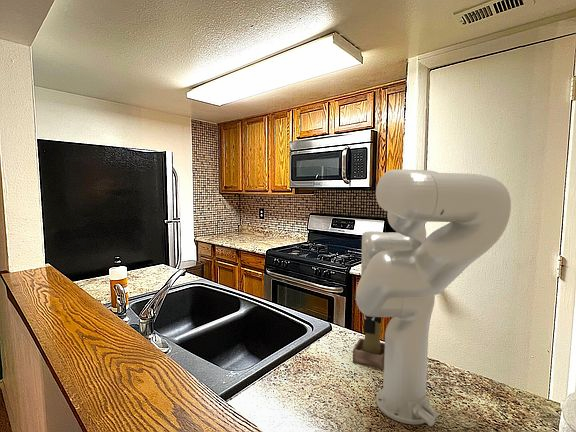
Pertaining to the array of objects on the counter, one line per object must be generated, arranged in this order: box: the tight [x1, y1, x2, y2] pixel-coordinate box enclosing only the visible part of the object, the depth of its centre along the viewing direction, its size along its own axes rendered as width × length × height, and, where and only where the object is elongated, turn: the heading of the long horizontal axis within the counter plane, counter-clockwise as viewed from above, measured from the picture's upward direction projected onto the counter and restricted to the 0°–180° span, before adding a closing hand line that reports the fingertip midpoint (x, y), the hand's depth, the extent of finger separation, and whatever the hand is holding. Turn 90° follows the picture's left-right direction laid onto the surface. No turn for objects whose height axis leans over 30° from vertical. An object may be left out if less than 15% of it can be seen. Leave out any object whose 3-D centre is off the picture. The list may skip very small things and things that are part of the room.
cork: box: [362, 322, 382, 355], centre depth 96 cm, size 6×6×11 cm
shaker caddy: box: [352, 338, 385, 371], centre depth 96 cm, size 9×9×4 cm
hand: (372, 327), depth 95 cm, fingers open, 9 cm apart
